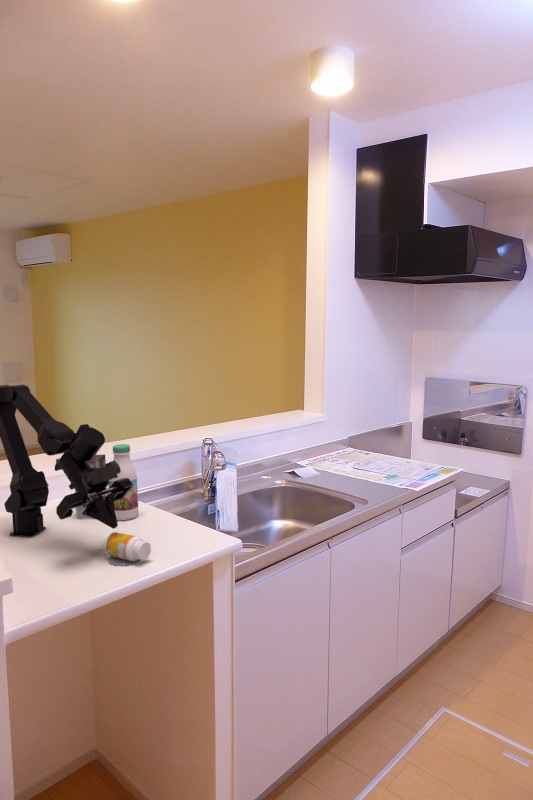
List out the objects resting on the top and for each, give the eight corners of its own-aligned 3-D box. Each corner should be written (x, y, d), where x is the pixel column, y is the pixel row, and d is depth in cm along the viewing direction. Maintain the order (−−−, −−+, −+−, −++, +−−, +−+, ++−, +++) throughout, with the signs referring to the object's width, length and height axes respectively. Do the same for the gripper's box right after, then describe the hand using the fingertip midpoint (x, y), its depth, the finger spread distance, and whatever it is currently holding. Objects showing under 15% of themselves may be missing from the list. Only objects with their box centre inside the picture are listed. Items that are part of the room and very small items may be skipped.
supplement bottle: (121, 530, 136) (154, 537, 132) (118, 554, 136) (151, 561, 131) (105, 532, 132) (138, 539, 127) (102, 557, 131) (135, 565, 127)
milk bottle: (107, 514, 164) (104, 444, 162) (135, 510, 167) (132, 441, 165) (112, 522, 157) (108, 449, 154) (141, 518, 160) (138, 446, 158)
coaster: (102, 566, 129) (102, 564, 129) (117, 553, 136) (117, 551, 136) (134, 568, 127) (134, 567, 127) (147, 555, 134) (147, 554, 134)
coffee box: (86, 508, 170) (83, 454, 168) (108, 508, 169) (106, 454, 167) (75, 519, 160) (72, 461, 158) (99, 518, 160) (96, 461, 158)
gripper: (61, 459, 125) (100, 518, 121) (126, 444, 141) (162, 495, 136) (40, 490, 130) (76, 547, 126) (104, 472, 146) (138, 523, 141)
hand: (115, 527), depth 132 cm, fingers closed
